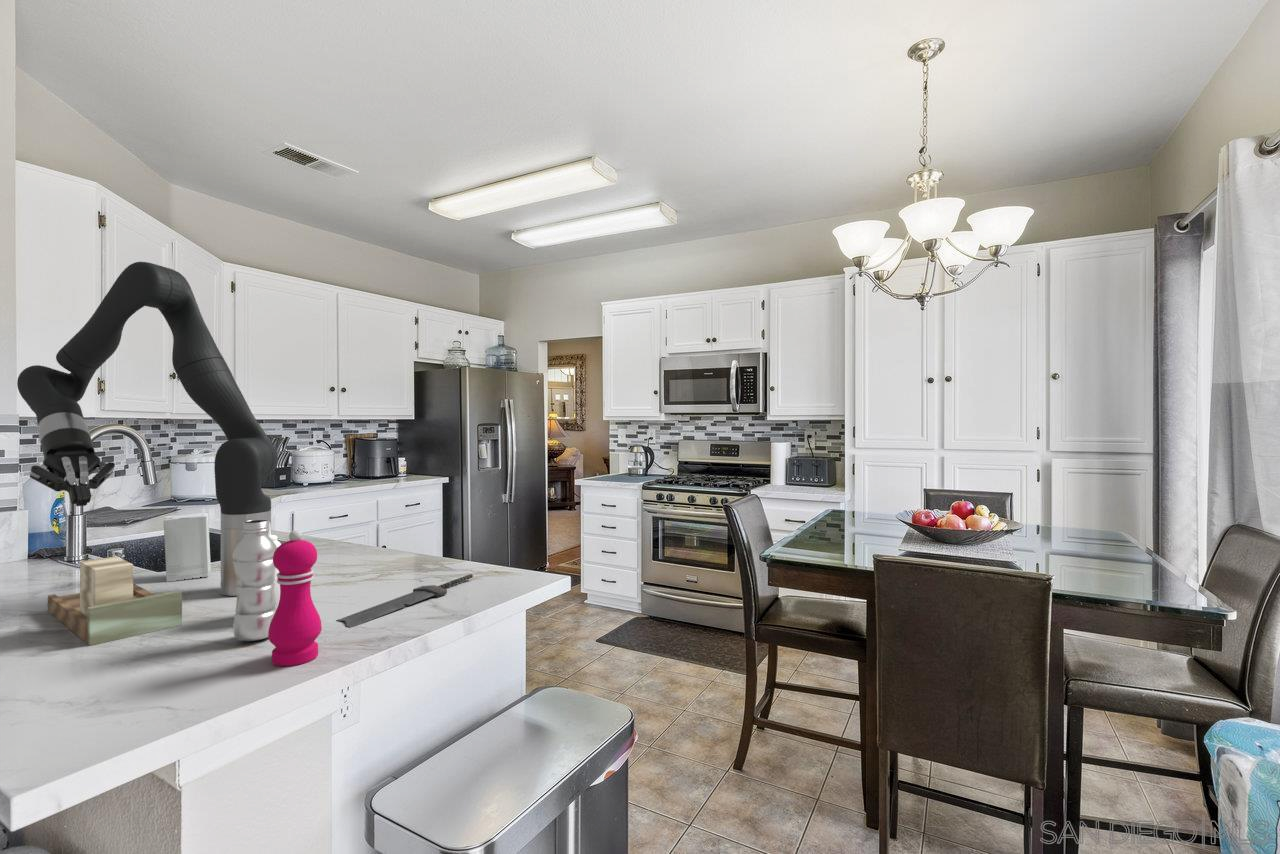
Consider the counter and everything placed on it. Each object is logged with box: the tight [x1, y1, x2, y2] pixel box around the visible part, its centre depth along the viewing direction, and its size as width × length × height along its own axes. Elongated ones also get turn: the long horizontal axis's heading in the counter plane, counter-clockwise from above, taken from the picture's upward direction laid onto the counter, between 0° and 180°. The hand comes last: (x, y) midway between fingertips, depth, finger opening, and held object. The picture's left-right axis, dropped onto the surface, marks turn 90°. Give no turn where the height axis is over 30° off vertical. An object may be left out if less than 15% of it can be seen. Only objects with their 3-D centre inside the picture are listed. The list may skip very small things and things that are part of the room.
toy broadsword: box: [335, 573, 474, 629], centre depth 124 cm, size 7×35×2 cm, turn 154°
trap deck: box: [47, 582, 183, 646], centre depth 112 cm, size 30×12×6 cm, turn 54°
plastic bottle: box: [232, 520, 277, 642], centre depth 101 cm, size 6×7×20 cm
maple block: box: [79, 556, 134, 618], centre depth 105 cm, size 10×5×10 cm, turn 54°
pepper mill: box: [267, 529, 323, 667], centre depth 93 cm, size 7×7×20 cm
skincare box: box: [163, 512, 212, 583], centre depth 141 cm, size 8×6×15 cm
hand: (82, 503), depth 116 cm, fingers closed
